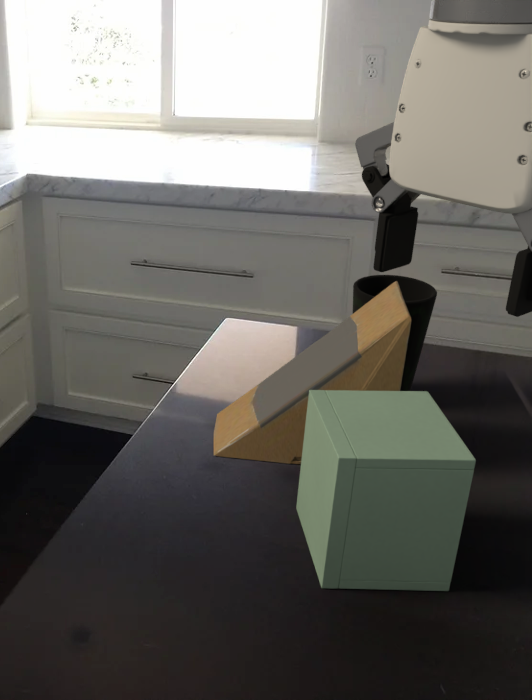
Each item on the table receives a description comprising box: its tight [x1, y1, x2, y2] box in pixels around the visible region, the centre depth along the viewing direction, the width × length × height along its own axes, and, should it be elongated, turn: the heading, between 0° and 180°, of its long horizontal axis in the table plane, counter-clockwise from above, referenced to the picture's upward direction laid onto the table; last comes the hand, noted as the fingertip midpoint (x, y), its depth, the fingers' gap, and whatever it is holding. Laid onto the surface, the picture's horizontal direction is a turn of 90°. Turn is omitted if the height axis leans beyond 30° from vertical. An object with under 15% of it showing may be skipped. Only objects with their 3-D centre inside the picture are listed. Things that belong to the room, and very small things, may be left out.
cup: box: [352, 274, 438, 391], centre depth 86 cm, size 8×8×12 cm
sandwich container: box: [213, 281, 411, 465], centre depth 78 cm, size 9×15×15 cm, turn 78°
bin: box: [295, 390, 477, 592], centre depth 64 cm, size 9×10×11 cm
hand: (454, 287), depth 56 cm, fingers open, 9 cm apart
